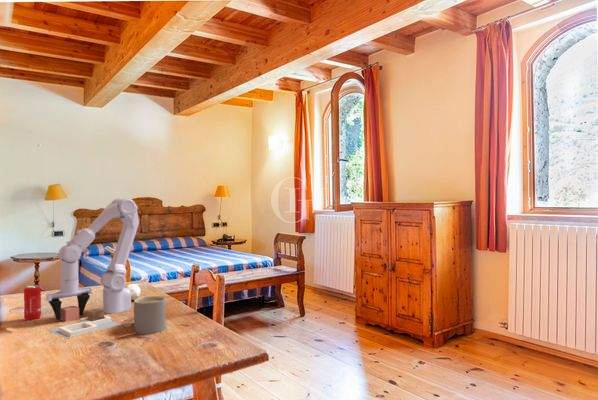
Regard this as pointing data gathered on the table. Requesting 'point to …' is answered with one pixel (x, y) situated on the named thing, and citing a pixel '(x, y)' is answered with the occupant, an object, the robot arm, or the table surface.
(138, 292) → the ornament
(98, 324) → the board
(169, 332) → the table surface
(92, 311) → the walnut cube
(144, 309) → the coffee mug
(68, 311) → the brick-red block
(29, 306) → the beverage can
